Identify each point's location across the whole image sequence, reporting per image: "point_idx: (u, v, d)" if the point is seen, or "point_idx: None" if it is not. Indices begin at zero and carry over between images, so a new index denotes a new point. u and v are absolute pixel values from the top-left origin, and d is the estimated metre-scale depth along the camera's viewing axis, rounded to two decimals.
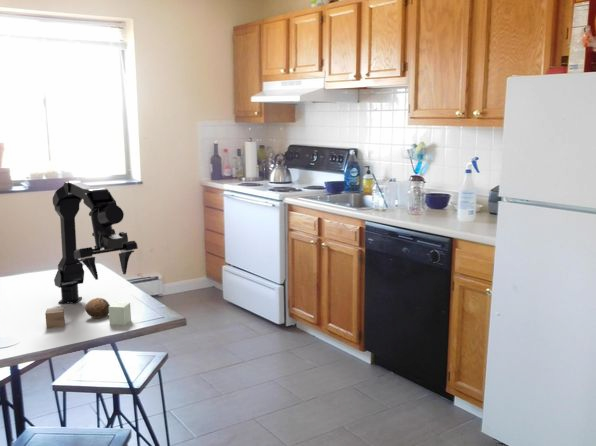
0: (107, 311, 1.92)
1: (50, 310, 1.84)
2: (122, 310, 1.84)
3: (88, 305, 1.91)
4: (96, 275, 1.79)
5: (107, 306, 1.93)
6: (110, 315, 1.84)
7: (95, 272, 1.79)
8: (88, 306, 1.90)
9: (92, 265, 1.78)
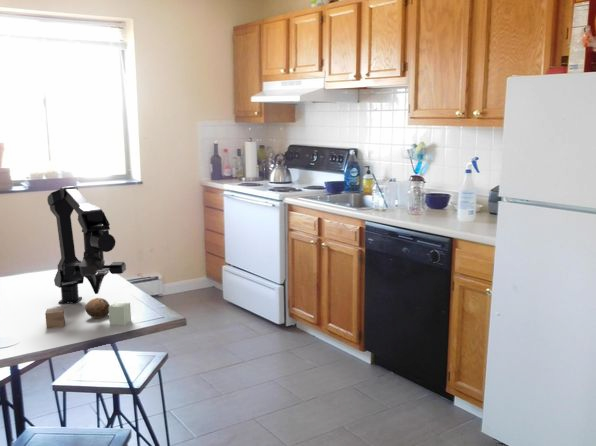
0: (107, 311, 1.92)
1: (50, 310, 1.84)
2: (122, 310, 1.84)
3: (88, 305, 1.91)
4: (94, 290, 1.91)
5: (107, 306, 1.93)
6: (110, 315, 1.84)
7: (93, 287, 1.91)
8: (88, 306, 1.90)
9: (90, 281, 1.90)
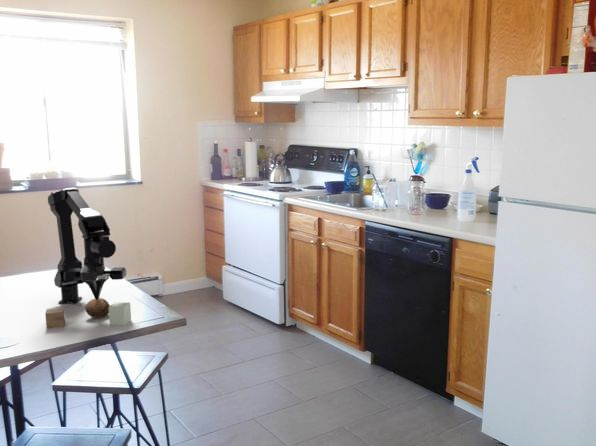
0: (107, 311, 1.92)
1: (50, 310, 1.84)
2: (122, 310, 1.84)
3: (88, 305, 1.91)
4: (95, 296, 1.92)
5: (107, 306, 1.93)
6: (110, 315, 1.84)
7: (93, 293, 1.91)
8: (88, 306, 1.90)
9: (90, 287, 1.90)
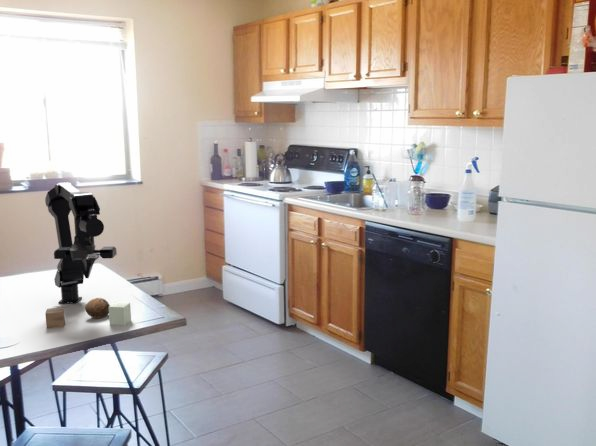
0: (107, 311, 1.92)
1: (50, 310, 1.84)
2: (122, 310, 1.84)
3: (88, 305, 1.91)
4: (85, 274, 1.92)
5: (107, 306, 1.93)
6: (110, 315, 1.84)
7: (84, 272, 1.92)
8: (88, 306, 1.90)
9: (81, 265, 1.91)
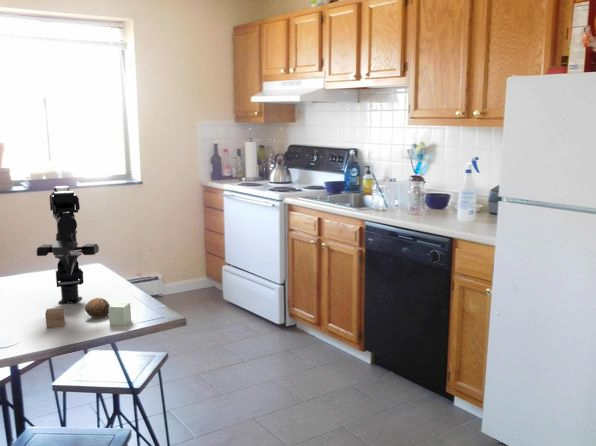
0: (107, 311, 1.92)
1: (50, 310, 1.84)
2: (122, 310, 1.84)
3: (88, 305, 1.91)
4: (67, 271, 1.95)
5: (107, 306, 1.93)
6: (110, 315, 1.84)
7: (66, 269, 1.95)
8: (88, 306, 1.90)
9: (63, 262, 1.94)
